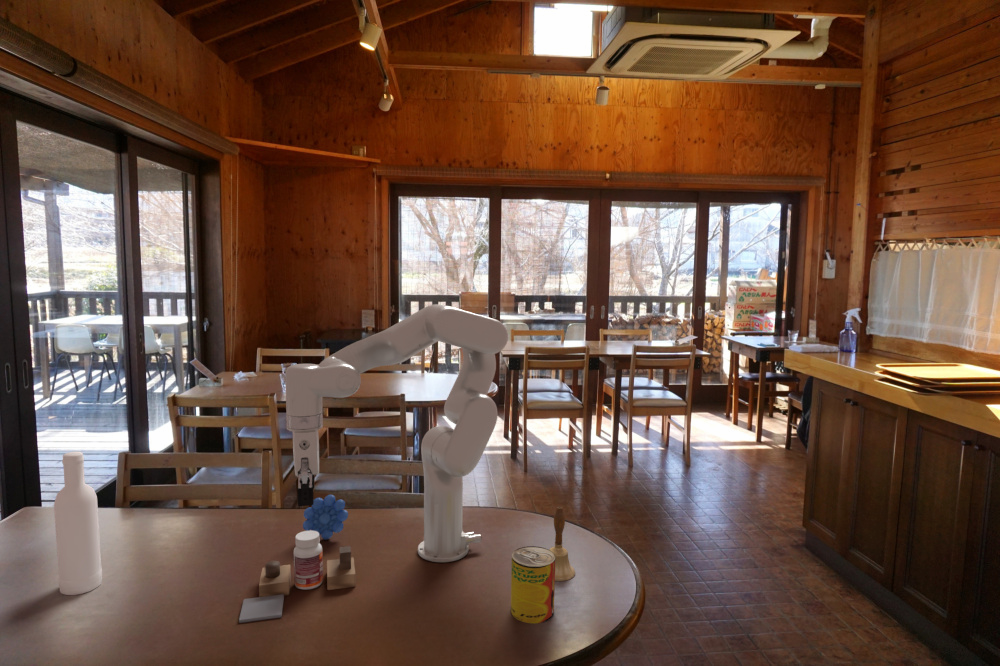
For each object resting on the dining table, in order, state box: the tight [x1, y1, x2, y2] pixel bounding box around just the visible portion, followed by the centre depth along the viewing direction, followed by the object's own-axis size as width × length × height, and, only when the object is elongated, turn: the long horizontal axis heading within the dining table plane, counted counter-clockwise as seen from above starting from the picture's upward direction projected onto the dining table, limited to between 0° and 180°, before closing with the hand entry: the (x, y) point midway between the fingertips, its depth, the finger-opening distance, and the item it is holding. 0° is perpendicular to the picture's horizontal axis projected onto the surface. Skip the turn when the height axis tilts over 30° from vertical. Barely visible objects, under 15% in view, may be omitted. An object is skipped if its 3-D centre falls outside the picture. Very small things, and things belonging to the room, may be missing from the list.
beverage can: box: [510, 545, 556, 624], centre depth 128 cm, size 9×9×12 cm
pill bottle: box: [293, 530, 324, 590], centre depth 138 cm, size 6×6×11 cm
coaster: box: [238, 594, 285, 624], centre depth 128 cm, size 8×8×1 cm
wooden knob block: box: [258, 545, 356, 597], centre depth 138 cm, size 20×8×7 cm, turn 106°
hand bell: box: [548, 506, 576, 582], centre depth 145 cm, size 8×8×16 cm
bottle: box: [53, 451, 103, 596], centre depth 134 cm, size 8×8×30 cm
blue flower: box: [302, 494, 349, 541], centre depth 161 cm, size 12×7×12 cm, turn 94°
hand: (306, 496), depth 137 cm, fingers open, 9 cm apart
